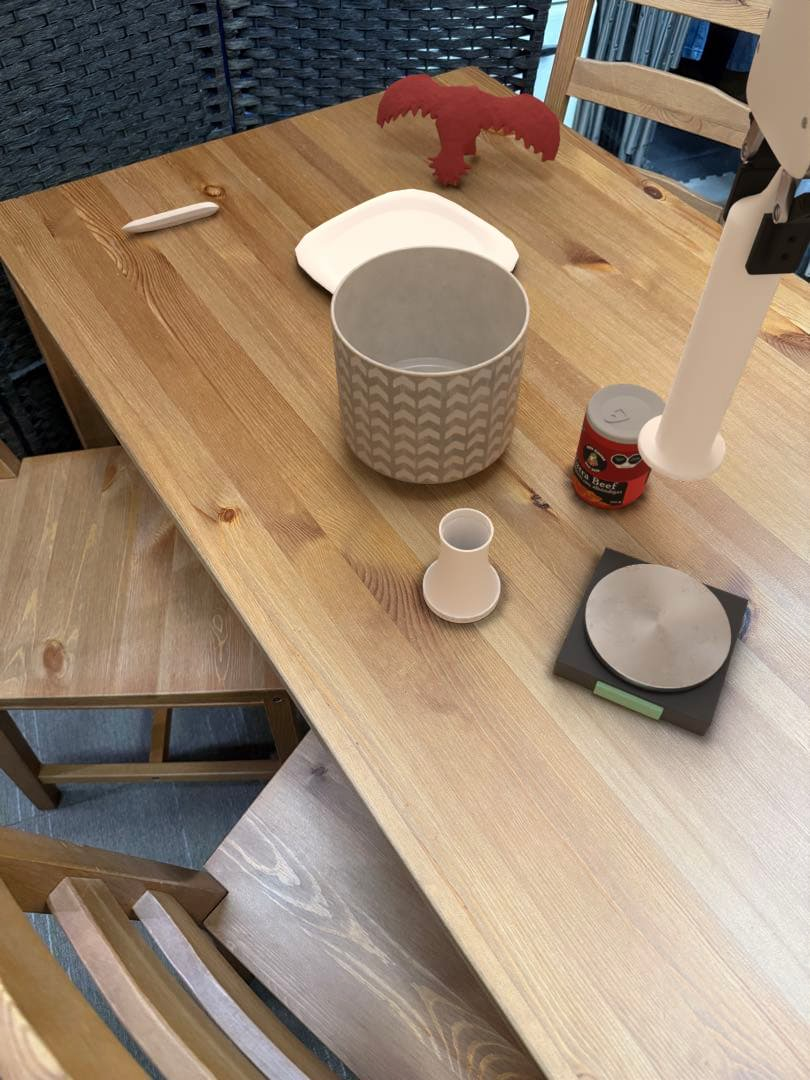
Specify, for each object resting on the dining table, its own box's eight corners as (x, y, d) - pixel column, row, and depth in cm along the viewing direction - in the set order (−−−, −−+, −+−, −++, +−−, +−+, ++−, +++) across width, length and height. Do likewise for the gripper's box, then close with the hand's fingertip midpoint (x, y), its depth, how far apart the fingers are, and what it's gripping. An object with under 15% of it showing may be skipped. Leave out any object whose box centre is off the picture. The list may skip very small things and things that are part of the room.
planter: (328, 492, 91) (311, 364, 77) (358, 370, 102) (349, 237, 88) (506, 511, 90) (524, 384, 75) (517, 384, 101) (535, 252, 86)
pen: (122, 234, 119) (118, 223, 117) (217, 207, 122) (215, 197, 121) (124, 240, 118) (121, 229, 117) (221, 213, 121) (219, 202, 120)
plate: (274, 257, 115) (272, 246, 114) (413, 186, 125) (413, 175, 124) (397, 352, 104) (397, 341, 103) (540, 265, 114) (542, 254, 112)
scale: (741, 612, 82) (753, 592, 79) (701, 741, 74) (713, 724, 72) (601, 560, 86) (608, 539, 83) (550, 677, 78) (555, 659, 75)
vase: (515, 590, 84) (526, 529, 76) (462, 637, 81) (468, 579, 73) (459, 546, 87) (464, 483, 79) (406, 589, 84) (406, 529, 76)
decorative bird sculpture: (543, 217, 127) (573, 111, 124) (534, 203, 119) (566, 89, 115) (370, 178, 134) (394, 76, 130) (350, 162, 125) (375, 53, 122)
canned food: (555, 480, 92) (570, 407, 83) (605, 444, 95) (625, 370, 86) (609, 523, 88) (630, 452, 79) (659, 485, 91) (685, 412, 82)
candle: (732, 434, 72) (856, 150, 52) (712, 493, 68) (836, 212, 48) (650, 408, 74) (739, 124, 53) (626, 464, 70) (711, 182, 50)
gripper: (1048, -15, 35) (862, 330, 50) (893, -151, 45) (775, 171, 60) (869, -9, 35) (735, 335, 50) (753, -147, 45) (669, 174, 60)
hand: (758, 243), depth 55 cm, fingers closed on candle, 4 cm apart
